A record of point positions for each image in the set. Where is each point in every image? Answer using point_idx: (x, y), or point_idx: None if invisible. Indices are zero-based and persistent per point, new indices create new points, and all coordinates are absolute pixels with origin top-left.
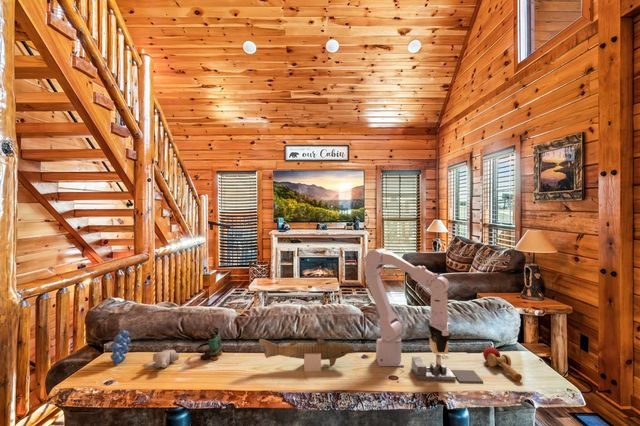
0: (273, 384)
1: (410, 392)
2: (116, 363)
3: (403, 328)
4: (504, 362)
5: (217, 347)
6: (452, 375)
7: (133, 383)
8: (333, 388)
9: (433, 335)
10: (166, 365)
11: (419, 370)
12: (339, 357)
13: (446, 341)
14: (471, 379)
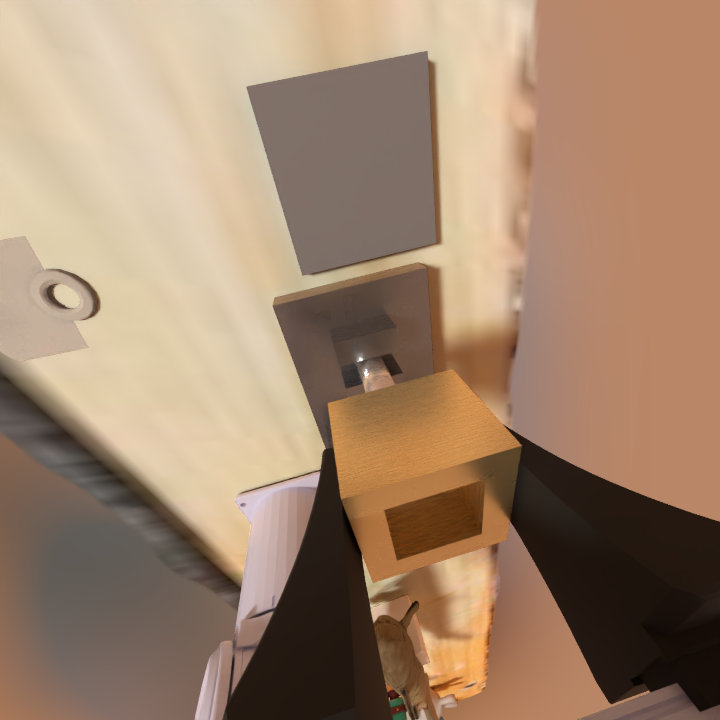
0: (471, 612)
1: (511, 426)
2: None
3: (218, 705)
4: None
5: (395, 714)
6: (414, 283)
7: (472, 677)
8: (485, 555)
9: (363, 581)
10: (450, 696)
11: None
12: (391, 617)
13: (595, 483)
14: (411, 153)
